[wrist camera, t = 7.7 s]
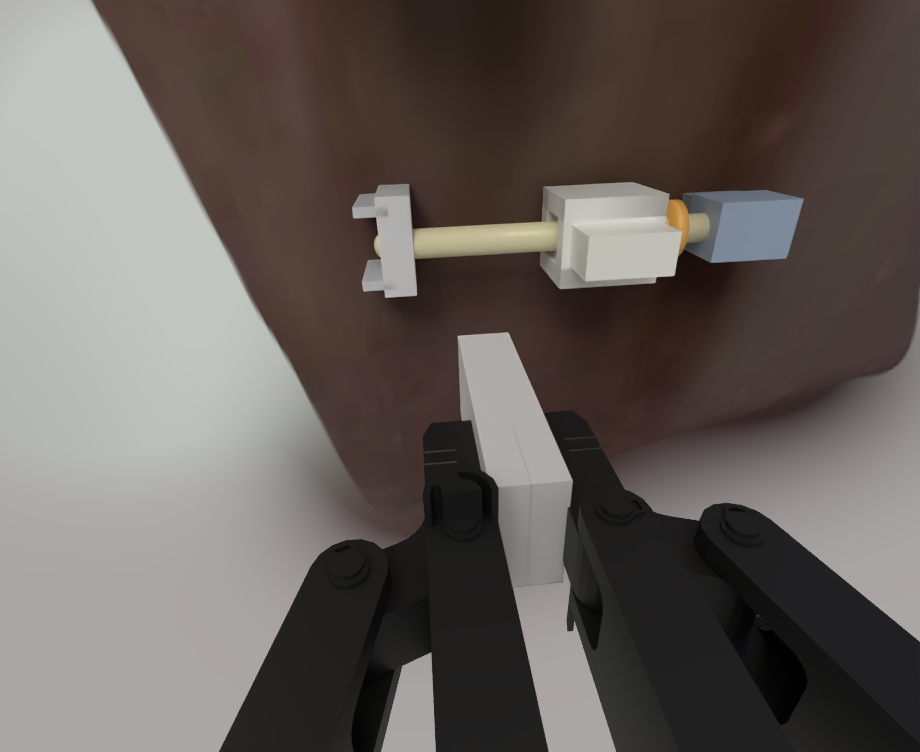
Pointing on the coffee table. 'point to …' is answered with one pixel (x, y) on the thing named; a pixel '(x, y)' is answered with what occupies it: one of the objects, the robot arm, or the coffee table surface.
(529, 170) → the coffee table surface
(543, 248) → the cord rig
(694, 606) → the robot arm
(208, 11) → the coffee table surface
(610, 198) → the white stepped block
